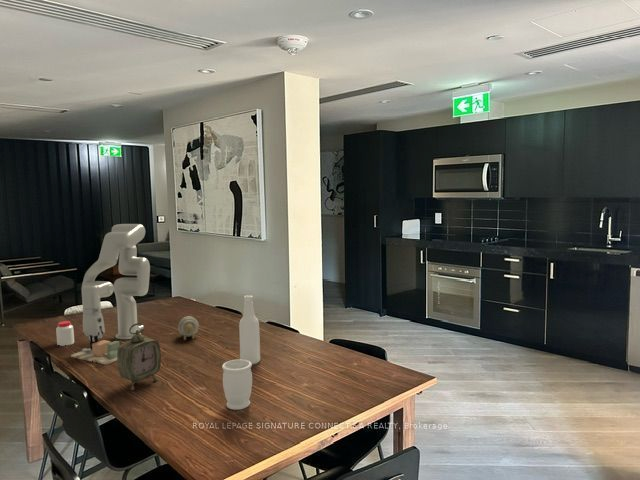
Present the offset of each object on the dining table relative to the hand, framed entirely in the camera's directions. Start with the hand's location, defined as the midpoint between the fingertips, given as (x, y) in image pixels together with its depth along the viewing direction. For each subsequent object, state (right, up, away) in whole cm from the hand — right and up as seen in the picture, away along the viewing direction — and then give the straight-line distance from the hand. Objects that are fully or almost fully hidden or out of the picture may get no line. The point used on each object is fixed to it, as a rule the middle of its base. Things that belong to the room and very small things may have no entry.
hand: (94, 348), depth 220 cm
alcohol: (+75, -3, -11) cm, 76 cm away
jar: (+77, -8, -53) cm, 94 cm away
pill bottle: (-24, -2, +19) cm, 31 cm away
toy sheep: (+37, 0, +27) cm, 46 cm away
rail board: (+3, -3, -1) cm, 4 cm away
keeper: (+5, -2, -2) cm, 5 cm away
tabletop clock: (+34, -6, -34) cm, 49 cm away
